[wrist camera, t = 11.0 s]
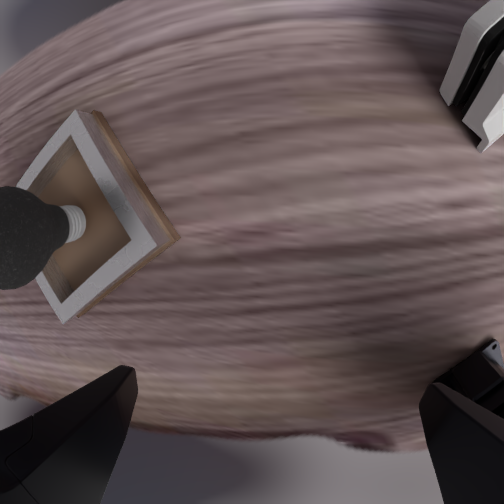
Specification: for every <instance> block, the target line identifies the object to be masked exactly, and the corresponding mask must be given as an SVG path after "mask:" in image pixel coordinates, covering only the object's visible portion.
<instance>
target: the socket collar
mask: <svg viewBox="0 0 504 504" xmlns="http://www.w3.org/2000/svg"><path fill="white" fill-rule="evenodd" d="M77 149H79V151H80V153H81V155H82V157H83V159H84V161H85V162H86V164H87V166H88V168H89V170H90V171H91V173H92V175H93V177H94V178H95V180H96V182H97V184H98V185H99V187H100V189H101V191H102V192H103V194H104V196H105V197H106V199H107V201H108V203H109V204H110V206H111V208H112V209H113V211H114V212H115V214H116V216H117V217H118V219H119V221H120V222H121V224H122V225H123V227H124V229H125V230H126V232H127V233H128V235H129V237H130V238H131V241H130V242H129V243H128V244H127V245H125V246H124V247H123V248H122V249H121V250H120V251H118V252H117V253H116V254H115V255H114V256H113V257H112V258H110V259H109V260H108V261H107V262H106V263H105V264H104V265H103V266H101V267H100V268H99V269H98V270H97V271H96V272H95V273H94V274H93V275H92V276H90V277H89V278H88V279H87V280H86V281H85V282H84V283H83V284H82V285H81V286H80V287H79V288H78V289H76V290H75V291H74V290H73V288H72V287H71V285H70V284H69V282H68V280H67V279H66V277H65V275H64V274H63V272H62V270H61V268H60V267H59V265H58V263H57V261H56V260H55V258H54V256H53V254H52V255H51V257H50V259H49V260H48V262H47V264H46V266H45V267H44V269H43V270H42V271H41V272H40V273H39V274H38V275H37V277H36V278H35V279H36V281H37V283H38V285H39V286H40V288H41V290H42V292H43V293H44V295H45V297H46V298H47V300H48V302H49V303H50V305H51V307H52V308H53V310H54V312H55V313H56V315H57V316H58V318H59V319H60V321H61V322H62V324H64V323H66V322H67V321H69V320H70V319H72V318H74V317H75V316H77V315H78V314H79V313H81V312H82V311H83V310H84V309H85V308H86V307H88V306H89V305H90V304H91V303H92V302H94V301H95V300H96V299H97V298H98V297H100V296H101V295H102V294H103V293H104V292H106V291H107V290H108V289H109V288H110V287H112V286H113V285H114V284H115V283H117V282H118V281H119V280H120V279H121V278H123V277H124V276H125V275H126V274H128V273H129V272H130V271H131V270H133V269H134V268H135V267H136V266H138V265H139V264H140V263H142V262H143V261H144V260H145V259H147V258H148V257H149V256H150V255H152V254H153V253H154V252H156V251H157V250H158V249H159V248H161V247H162V246H163V245H165V244H166V243H167V242H169V241H170V240H171V239H170V238H169V236H168V235H167V233H166V232H165V230H164V229H163V227H162V226H161V224H160V223H159V221H158V220H157V218H156V217H155V215H154V214H153V212H152V211H151V209H150V208H149V206H148V204H147V203H146V201H145V200H144V198H143V197H142V195H141V193H140V192H139V190H138V189H137V187H136V186H135V184H134V182H133V181H132V179H131V178H130V176H129V174H128V173H127V171H126V169H125V168H124V166H123V165H122V163H121V161H120V160H119V158H118V156H117V155H116V153H115V151H114V150H113V148H112V146H111V145H110V143H109V141H108V140H107V138H106V136H105V134H104V133H103V131H102V129H101V128H100V126H99V124H98V122H97V121H96V119H95V117H94V115H93V114H91V113H87V112H83V111H80V110H76V109H75V110H74V112H73V113H72V114H71V115H70V116H69V117H68V118H67V120H66V121H65V122H64V123H63V124H62V125H61V127H60V128H59V129H58V130H57V131H56V133H55V134H54V135H53V136H52V137H51V139H50V140H49V141H48V142H47V144H46V145H45V146H44V148H43V149H42V150H41V152H40V153H39V154H38V155H37V157H36V158H35V160H34V161H33V162H32V164H31V165H30V166H29V168H28V169H27V171H26V172H25V174H24V175H23V176H22V178H21V179H20V181H19V182H18V184H17V185H16V187H18V188H22V189H24V190H27V191H29V192H31V193H33V194H34V195H35V196H37V197H38V196H39V195H40V194H41V192H42V191H43V190H44V189H45V187H46V186H47V185H48V183H49V182H50V181H51V180H52V178H53V177H54V176H55V175H56V173H57V172H58V171H59V170H60V169H61V167H62V166H63V165H64V164H65V163H66V161H67V160H68V159H69V158H70V157H71V156H72V155H73V153H74V152H75V151H76V150H77Z"/></svg>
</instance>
